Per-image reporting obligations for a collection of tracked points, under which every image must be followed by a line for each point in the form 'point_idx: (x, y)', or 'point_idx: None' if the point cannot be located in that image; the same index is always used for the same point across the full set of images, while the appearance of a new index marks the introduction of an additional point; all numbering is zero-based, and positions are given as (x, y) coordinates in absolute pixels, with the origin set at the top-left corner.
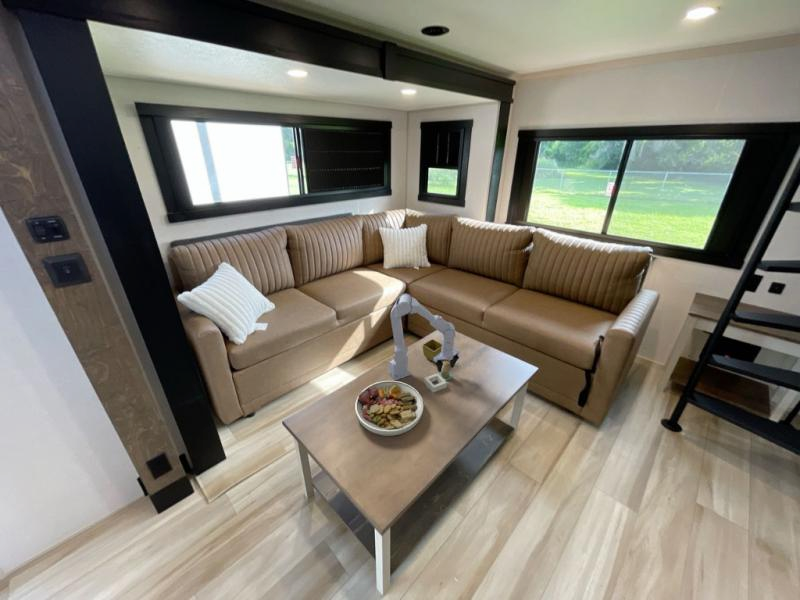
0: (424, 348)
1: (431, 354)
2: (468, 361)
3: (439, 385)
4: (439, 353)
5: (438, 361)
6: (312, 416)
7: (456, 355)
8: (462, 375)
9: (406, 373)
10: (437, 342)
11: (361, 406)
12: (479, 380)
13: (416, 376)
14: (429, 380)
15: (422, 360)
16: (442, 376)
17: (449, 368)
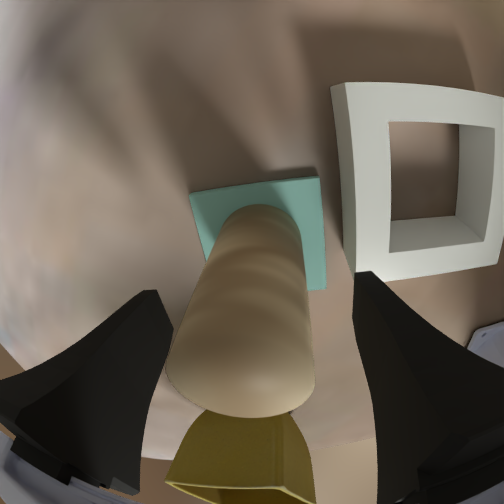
0: (311, 485)
1: (289, 454)
2: (46, 310)
3: (454, 88)
4: (213, 439)
5: (494, 468)
6: None
7: (26, 442)
8: (96, 201)
9: (496, 341)
10: (202, 495)
11: None
12: (14, 118)
13: (461, 310)
14: (489, 215)
15: (325, 408)
16: (300, 239)
17: (206, 285)
